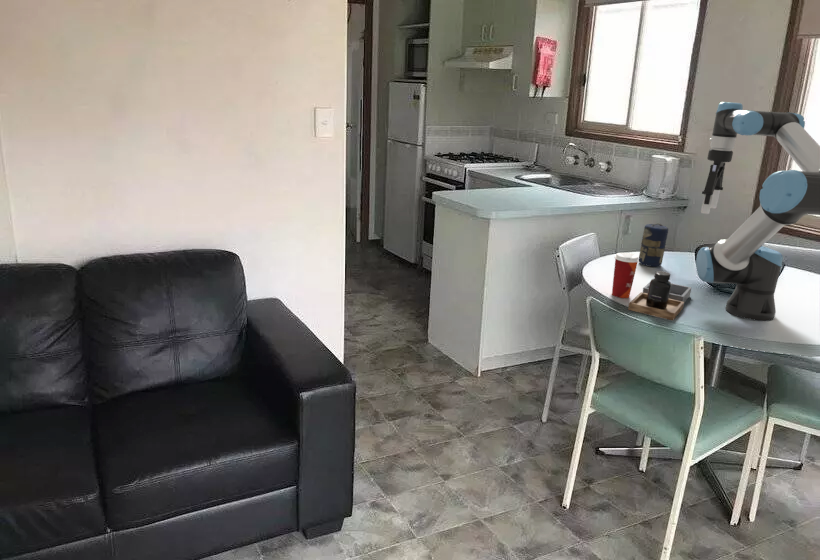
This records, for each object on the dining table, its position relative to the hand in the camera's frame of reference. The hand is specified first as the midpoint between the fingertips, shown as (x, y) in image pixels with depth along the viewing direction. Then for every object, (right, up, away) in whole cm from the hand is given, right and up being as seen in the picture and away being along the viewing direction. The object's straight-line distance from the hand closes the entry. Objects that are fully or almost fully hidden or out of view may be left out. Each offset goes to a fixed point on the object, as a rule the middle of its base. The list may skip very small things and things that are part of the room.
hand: (708, 210), depth 222 cm
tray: (-21, -34, -6) cm, 41 cm away
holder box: (-12, -30, +7) cm, 33 cm away
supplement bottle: (-21, -33, -7) cm, 40 cm away
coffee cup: (-29, -30, +6) cm, 42 cm away
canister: (-3, -18, +47) cm, 51 cm away
